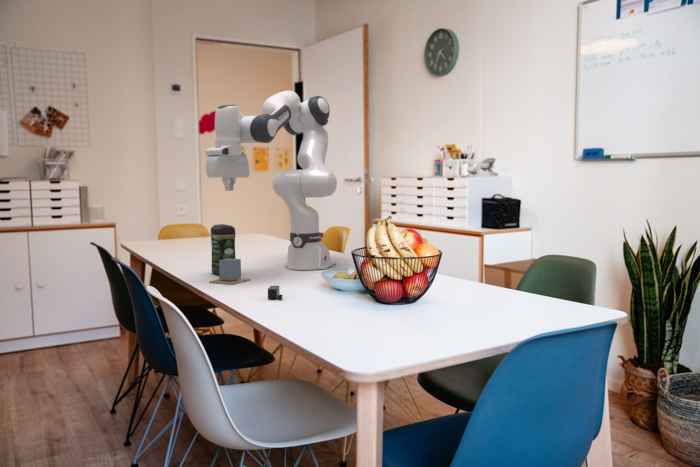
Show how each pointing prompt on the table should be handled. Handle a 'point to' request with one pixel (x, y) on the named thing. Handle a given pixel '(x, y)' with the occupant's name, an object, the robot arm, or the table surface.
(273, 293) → the wireless earbuds
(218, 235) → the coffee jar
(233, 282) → the marker post
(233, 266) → the grey block
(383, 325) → the table surface
